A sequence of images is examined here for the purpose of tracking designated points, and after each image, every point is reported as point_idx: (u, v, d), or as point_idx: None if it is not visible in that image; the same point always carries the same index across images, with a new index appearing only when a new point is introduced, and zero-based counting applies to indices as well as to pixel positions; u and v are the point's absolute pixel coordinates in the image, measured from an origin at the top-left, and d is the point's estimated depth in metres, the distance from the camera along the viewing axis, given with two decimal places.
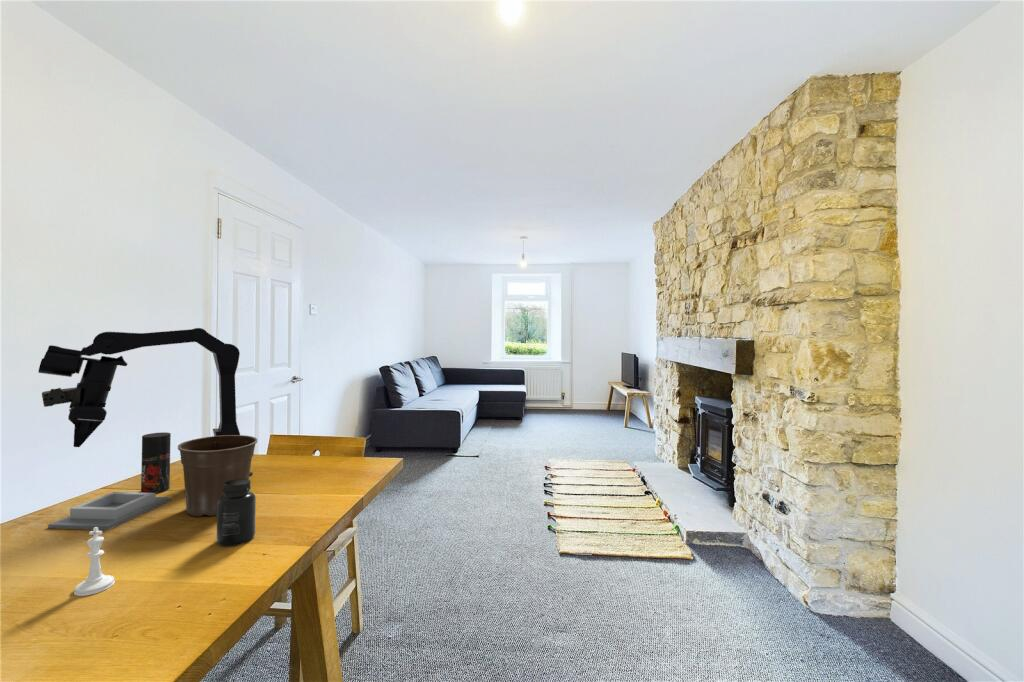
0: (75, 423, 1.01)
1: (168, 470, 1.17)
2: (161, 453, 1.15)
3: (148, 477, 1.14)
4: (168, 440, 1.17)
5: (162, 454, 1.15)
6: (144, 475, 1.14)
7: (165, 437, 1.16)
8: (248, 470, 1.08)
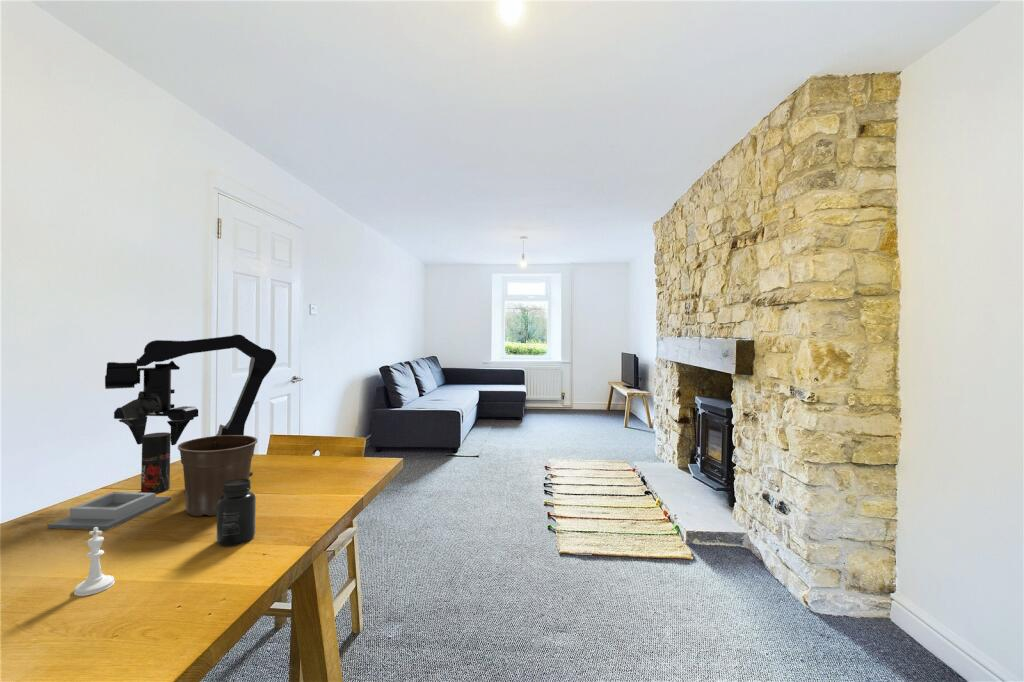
0: (176, 424, 1.15)
1: (168, 470, 1.17)
2: (161, 453, 1.15)
3: (148, 477, 1.14)
4: (168, 440, 1.17)
5: (162, 454, 1.15)
6: (144, 475, 1.14)
7: (165, 437, 1.16)
8: (248, 470, 1.08)
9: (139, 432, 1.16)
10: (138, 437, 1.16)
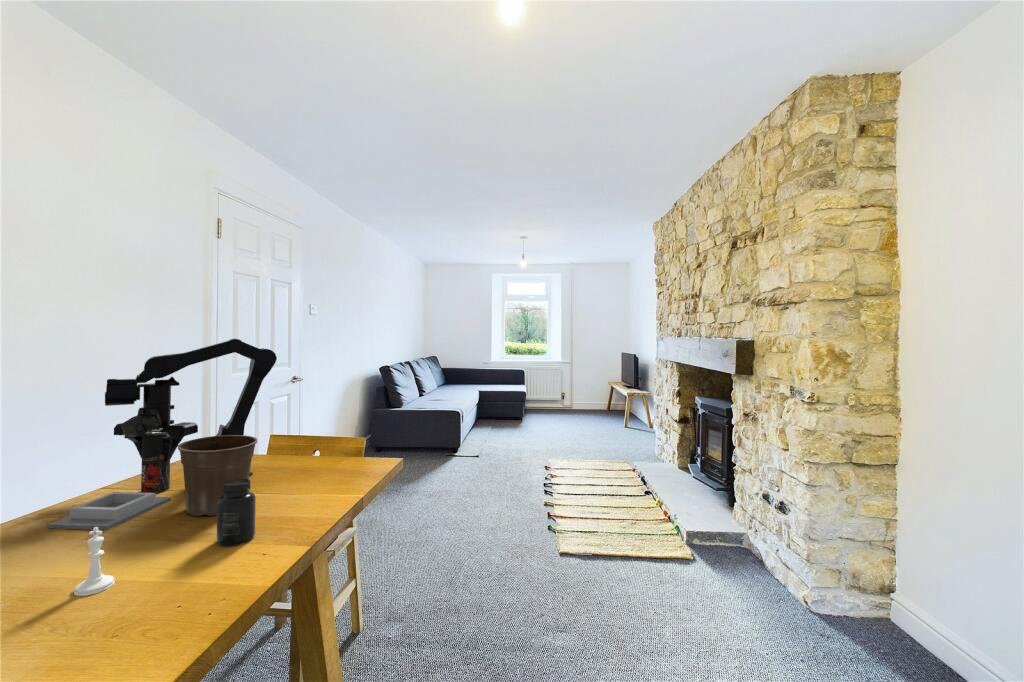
0: (170, 441, 1.15)
1: (168, 470, 1.17)
2: (161, 453, 1.15)
3: (148, 477, 1.14)
4: None
5: (162, 454, 1.15)
6: (144, 475, 1.14)
7: None
8: (248, 470, 1.08)
9: None
10: None
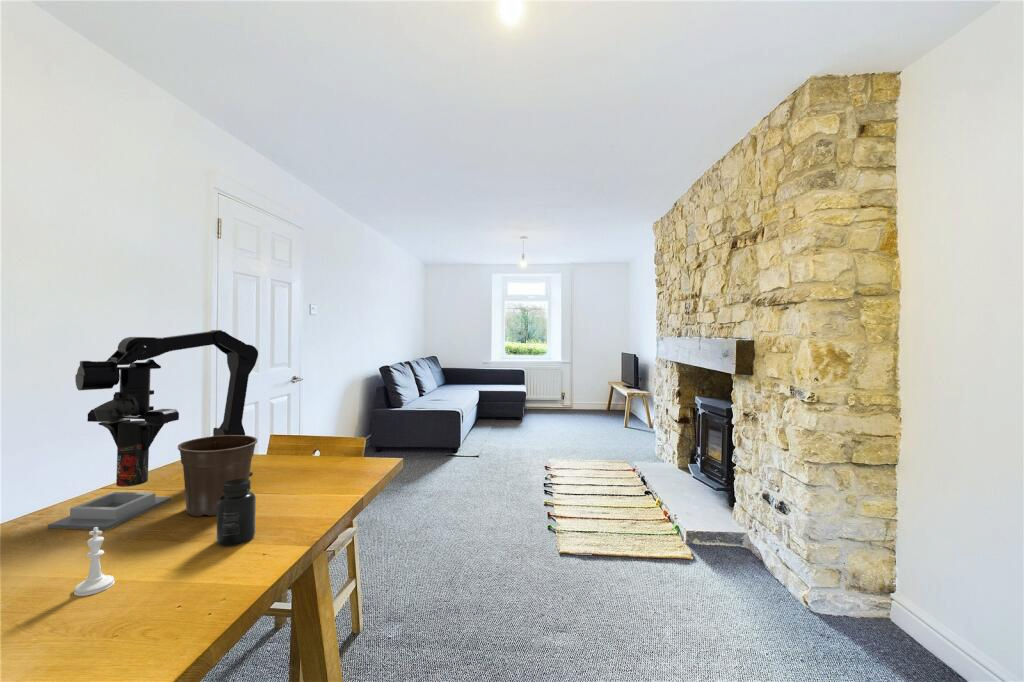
0: (148, 428, 1.06)
1: (146, 461, 1.08)
2: (138, 442, 1.06)
3: (123, 468, 1.05)
4: None
5: (139, 443, 1.06)
6: (120, 466, 1.05)
7: None
8: (248, 470, 1.08)
9: None
10: None
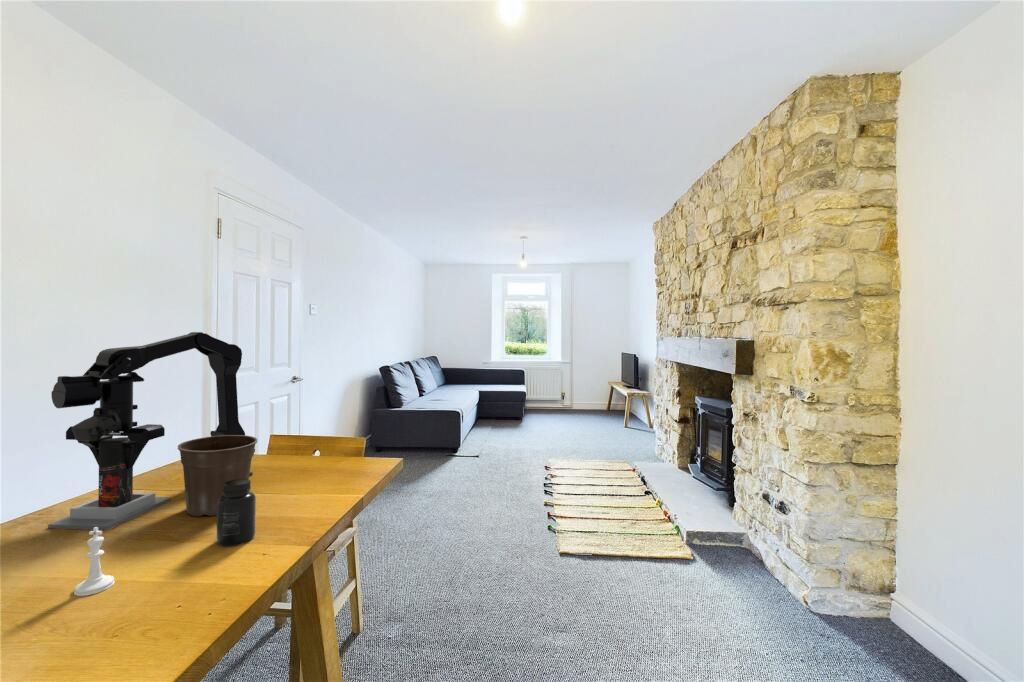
0: (132, 446, 1.00)
1: (130, 480, 1.02)
2: (121, 461, 1.00)
3: (105, 488, 0.99)
4: None
5: (122, 462, 1.00)
6: (102, 487, 0.99)
7: None
8: (248, 470, 1.08)
9: None
10: None
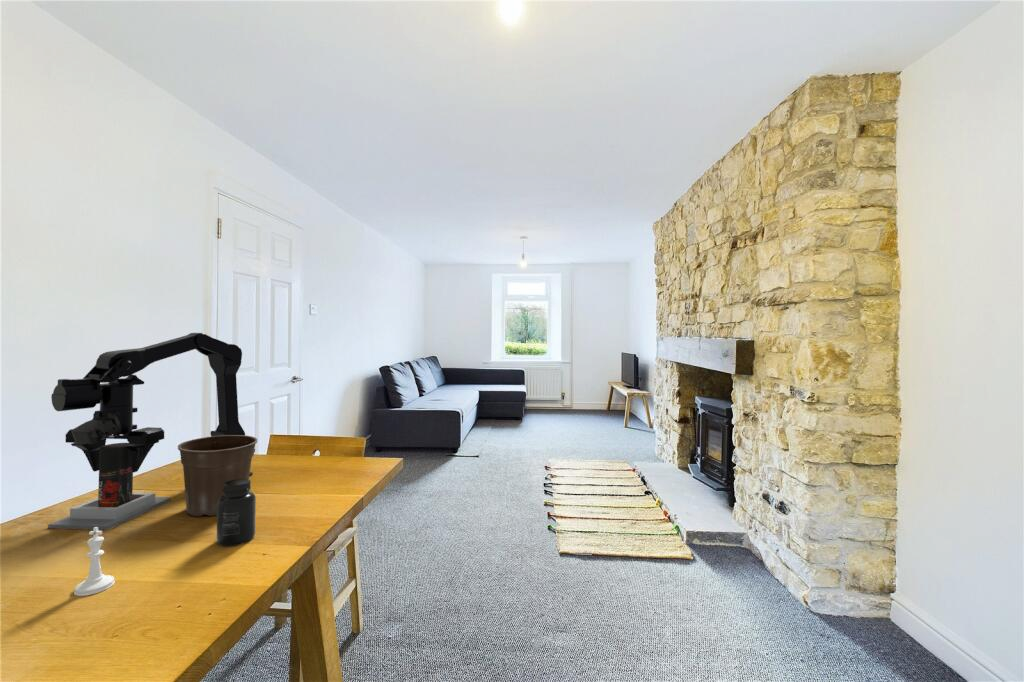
0: (138, 449, 1.00)
1: (130, 486, 1.02)
2: (121, 467, 1.00)
3: (105, 494, 0.99)
4: (130, 452, 1.02)
5: (122, 468, 1.00)
6: (101, 493, 0.99)
7: (126, 448, 1.01)
8: (248, 470, 1.08)
9: (95, 457, 1.02)
10: (94, 463, 1.01)
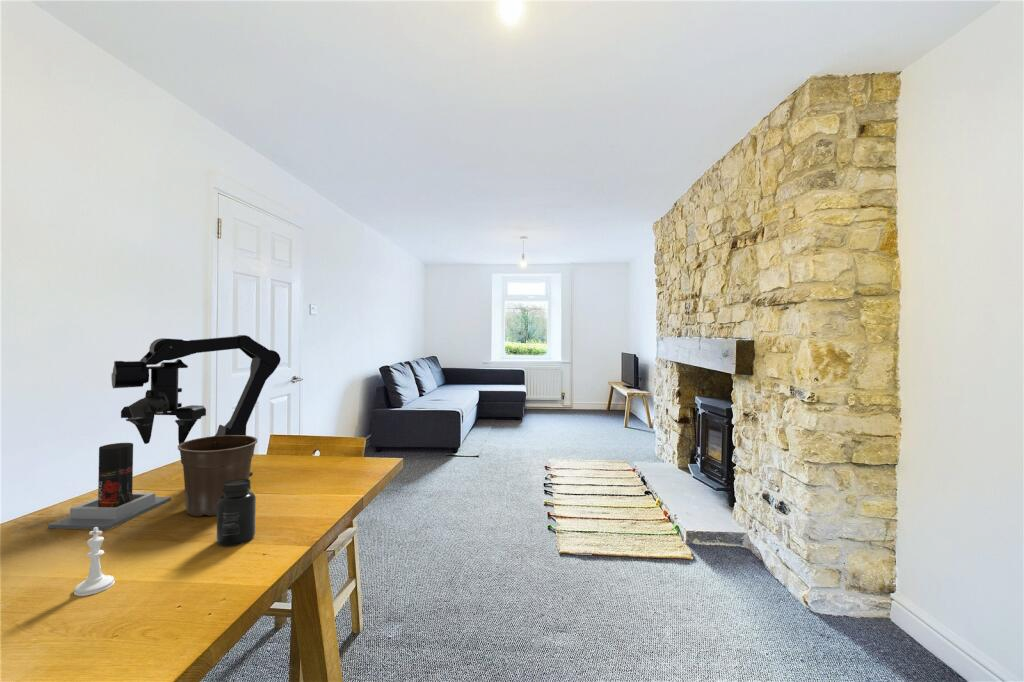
0: (184, 424, 1.14)
1: (130, 486, 1.02)
2: (121, 467, 1.00)
3: (105, 494, 0.99)
4: (130, 452, 1.02)
5: (122, 468, 1.00)
6: (101, 493, 0.99)
7: (126, 448, 1.01)
8: (248, 470, 1.08)
9: (146, 432, 1.15)
10: (145, 436, 1.15)
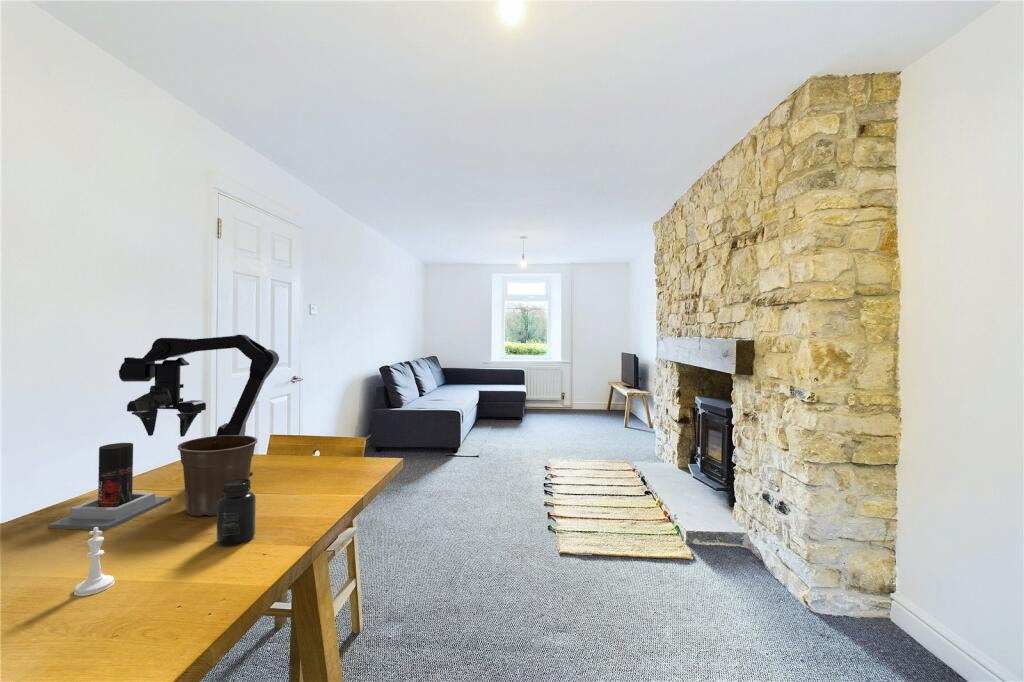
0: (185, 417, 1.22)
1: (130, 486, 1.02)
2: (121, 467, 1.00)
3: (105, 494, 0.99)
4: (130, 452, 1.02)
5: (122, 468, 1.00)
6: (101, 493, 0.99)
7: (126, 448, 1.01)
8: (248, 470, 1.08)
9: (150, 424, 1.24)
10: (149, 429, 1.23)
